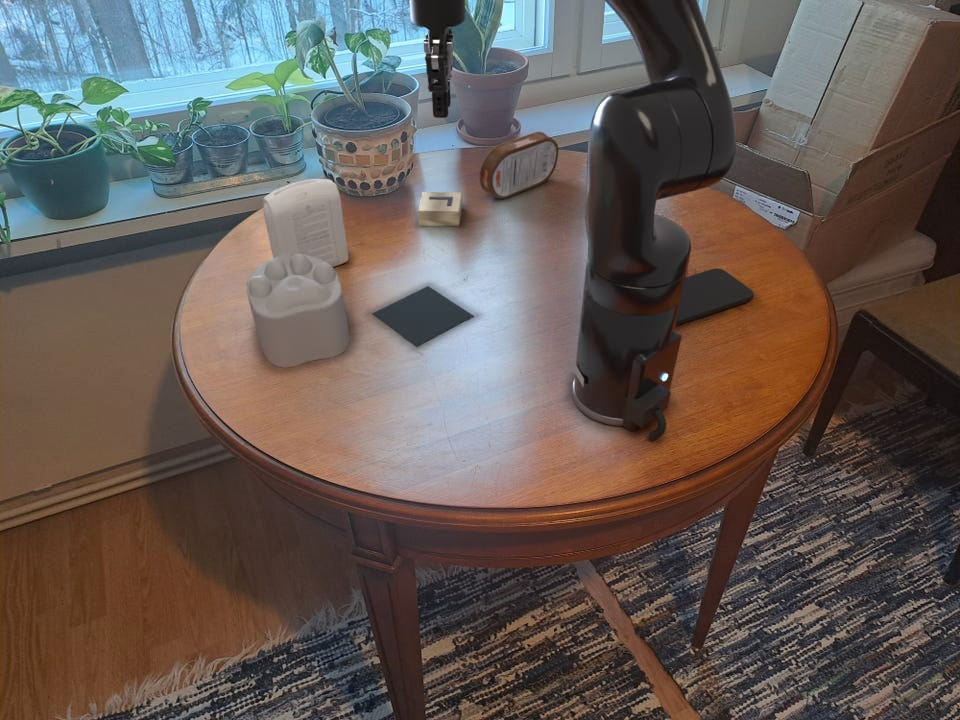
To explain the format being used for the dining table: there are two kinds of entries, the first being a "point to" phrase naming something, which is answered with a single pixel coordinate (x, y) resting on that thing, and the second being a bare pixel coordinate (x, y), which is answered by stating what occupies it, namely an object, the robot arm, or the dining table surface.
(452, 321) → the mat
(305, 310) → the lumpy-topped squat cylinder
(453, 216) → the tile
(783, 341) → the dining table surface
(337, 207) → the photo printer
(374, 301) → the dining table surface
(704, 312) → the phone
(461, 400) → the dining table surface
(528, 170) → the tin
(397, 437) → the dining table surface
